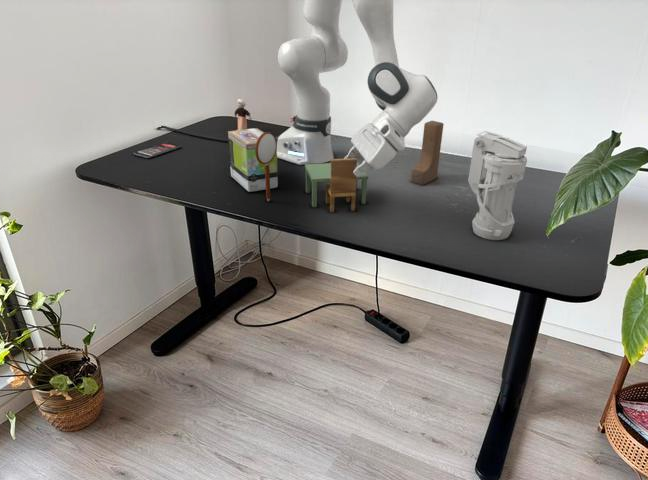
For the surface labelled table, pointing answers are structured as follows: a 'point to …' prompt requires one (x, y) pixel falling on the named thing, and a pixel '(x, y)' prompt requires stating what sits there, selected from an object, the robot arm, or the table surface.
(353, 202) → the chair
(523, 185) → the table surface
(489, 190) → the grey mechanical canister
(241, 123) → the grandmother figurine
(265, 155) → the magnifying glass
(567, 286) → the table surface
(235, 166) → the tea box
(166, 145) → the smartphone
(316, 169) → the side table
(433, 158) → the wooden block
